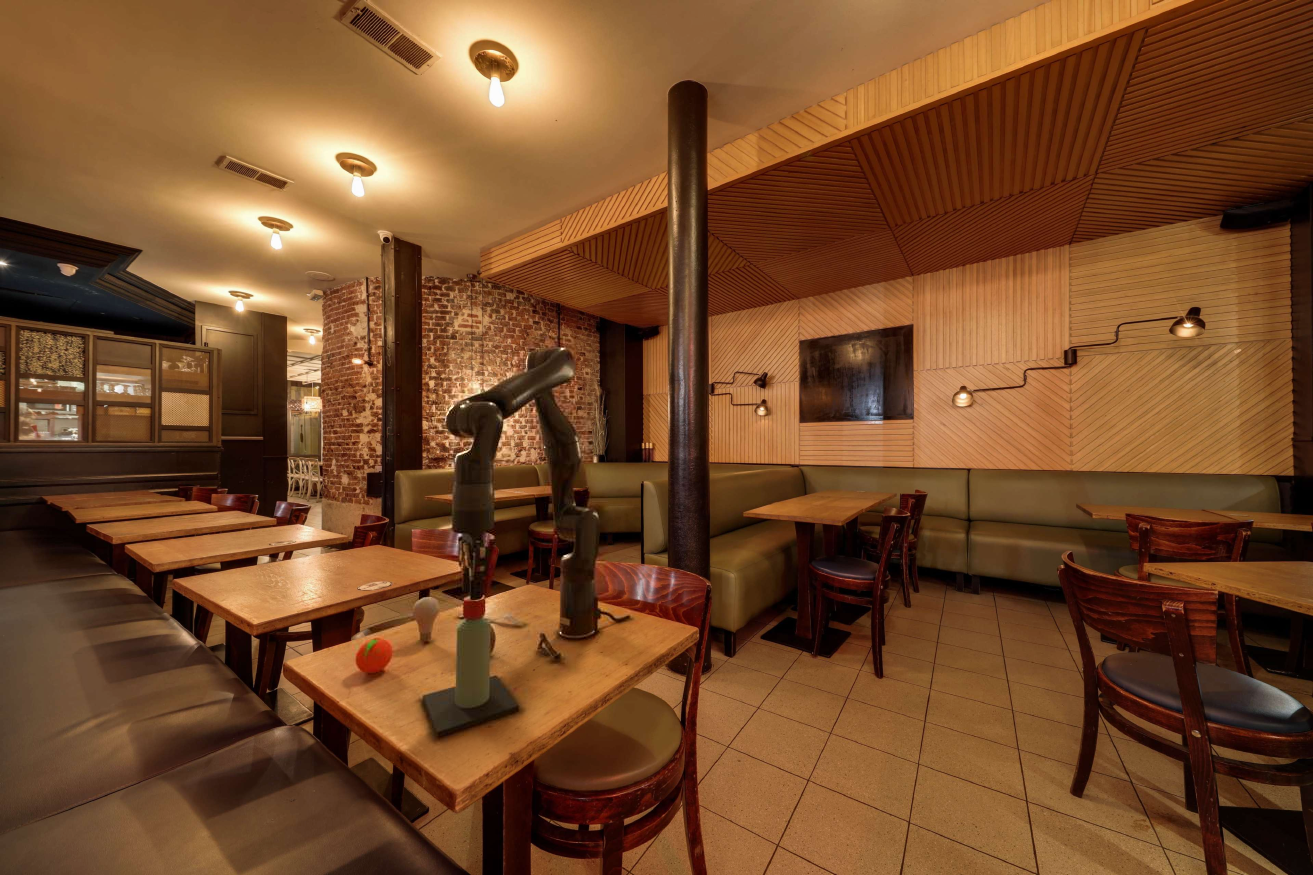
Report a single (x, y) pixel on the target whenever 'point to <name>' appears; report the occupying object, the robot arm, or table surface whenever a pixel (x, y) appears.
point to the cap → (473, 608)
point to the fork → (506, 616)
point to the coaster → (455, 718)
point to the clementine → (374, 655)
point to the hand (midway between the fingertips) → (472, 594)
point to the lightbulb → (426, 616)
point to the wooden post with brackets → (554, 654)
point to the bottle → (472, 662)
